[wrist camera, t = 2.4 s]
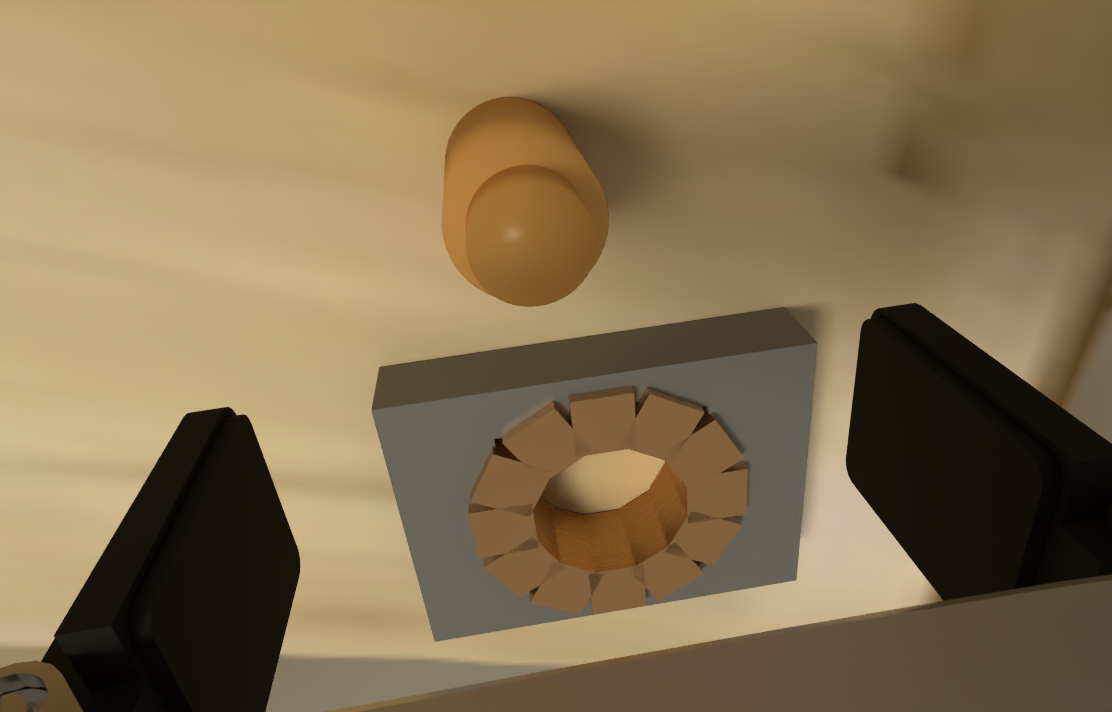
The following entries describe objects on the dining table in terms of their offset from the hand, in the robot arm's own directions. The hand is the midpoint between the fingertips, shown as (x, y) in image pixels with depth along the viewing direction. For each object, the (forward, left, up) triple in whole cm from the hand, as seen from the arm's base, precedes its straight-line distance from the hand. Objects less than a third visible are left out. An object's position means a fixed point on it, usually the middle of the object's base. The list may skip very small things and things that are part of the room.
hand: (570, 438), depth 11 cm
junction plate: (-2, +13, -16) cm, 20 cm away
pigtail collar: (-2, +13, -16) cm, 20 cm away
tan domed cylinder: (0, 0, -16) cm, 16 cm away
